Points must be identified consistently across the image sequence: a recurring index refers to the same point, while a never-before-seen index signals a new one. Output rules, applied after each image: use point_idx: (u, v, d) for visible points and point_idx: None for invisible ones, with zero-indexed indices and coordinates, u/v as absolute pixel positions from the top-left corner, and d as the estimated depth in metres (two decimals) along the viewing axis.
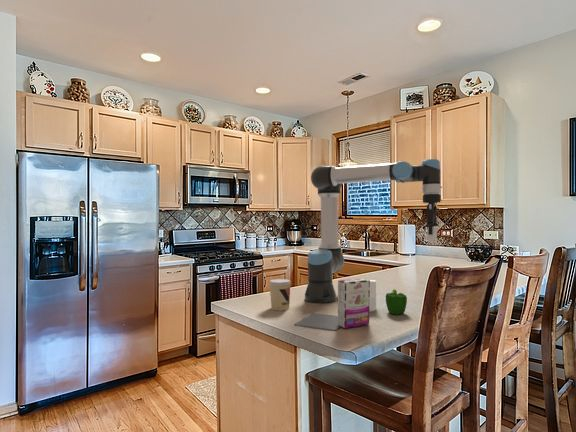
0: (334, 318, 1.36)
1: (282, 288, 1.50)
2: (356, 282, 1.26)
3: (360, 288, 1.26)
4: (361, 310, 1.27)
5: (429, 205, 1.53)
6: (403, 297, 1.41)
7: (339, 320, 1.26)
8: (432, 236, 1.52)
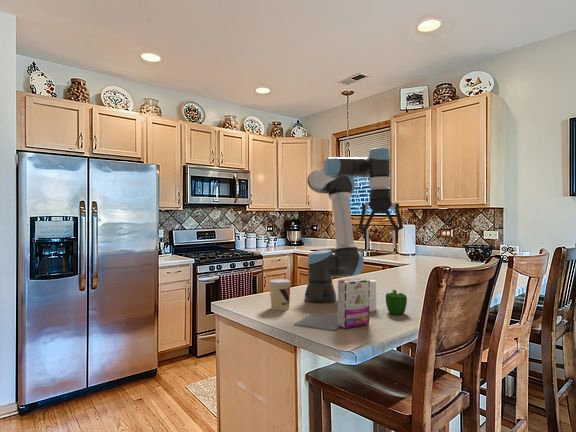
0: (334, 318, 1.36)
1: (282, 288, 1.50)
2: (356, 282, 1.26)
3: (360, 288, 1.26)
4: (361, 310, 1.27)
5: (398, 204, 1.33)
6: (403, 297, 1.41)
7: (339, 320, 1.26)
8: None
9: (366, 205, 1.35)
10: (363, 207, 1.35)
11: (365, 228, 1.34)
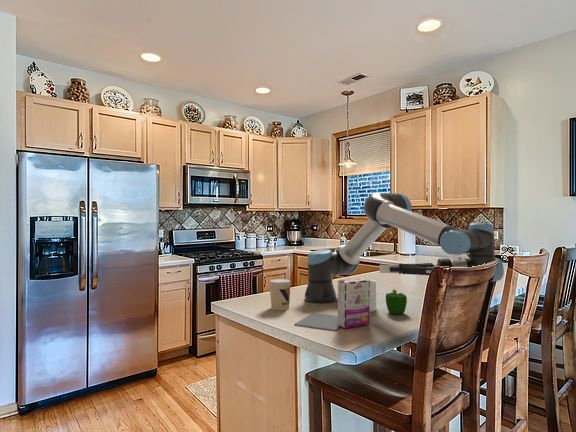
0: (334, 318, 1.36)
1: (282, 288, 1.50)
2: (356, 282, 1.26)
3: (360, 288, 1.26)
4: (361, 310, 1.27)
5: None
6: (403, 297, 1.41)
7: (339, 320, 1.26)
8: None
9: None
10: None
11: None
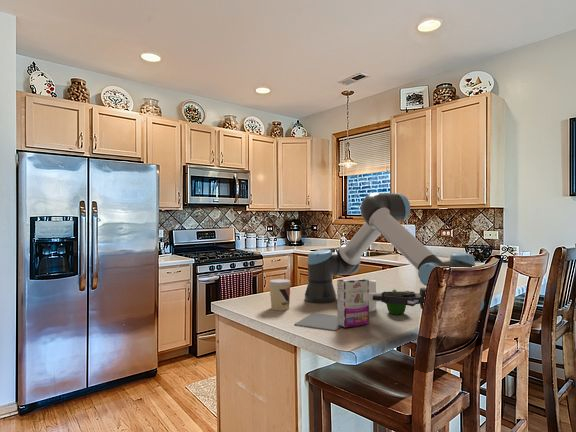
0: (334, 318, 1.36)
1: (282, 288, 1.50)
2: (355, 281, 1.27)
3: (359, 287, 1.27)
4: (360, 309, 1.27)
5: None
6: None
7: (339, 320, 1.27)
8: None
9: None
10: None
11: None
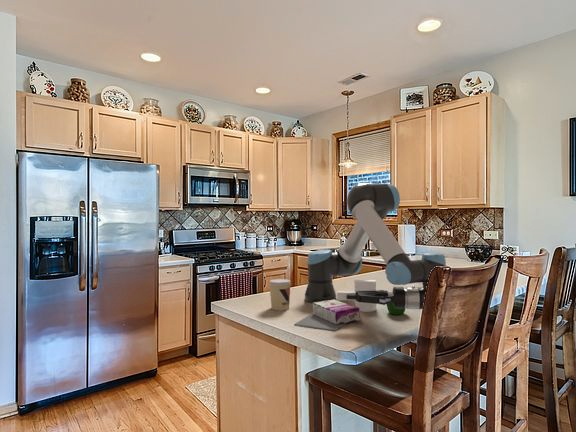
0: None
1: (282, 288, 1.50)
2: (322, 301, 1.44)
3: (329, 301, 1.43)
4: (342, 305, 1.36)
5: None
6: None
7: (332, 319, 1.29)
8: None
9: None
10: None
11: None
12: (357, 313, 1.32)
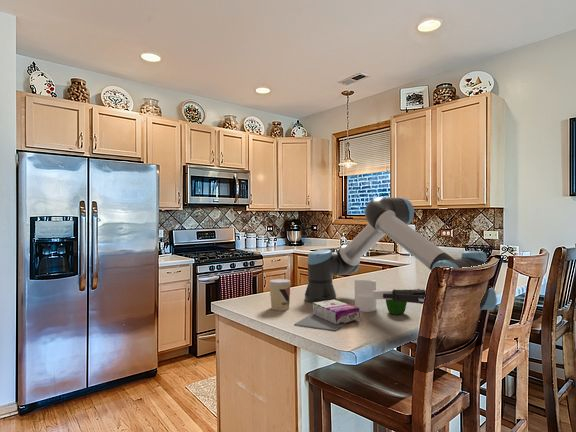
0: None
1: (282, 288, 1.50)
2: (322, 301, 1.44)
3: (329, 301, 1.43)
4: (342, 305, 1.36)
5: None
6: None
7: (332, 319, 1.29)
8: None
9: None
10: None
11: None
12: (357, 313, 1.32)
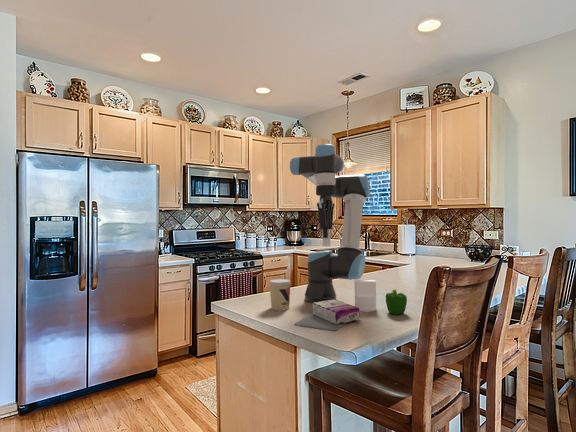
0: None
1: (282, 288, 1.50)
2: (322, 301, 1.44)
3: (329, 301, 1.43)
4: (342, 305, 1.36)
5: None
6: (403, 297, 1.41)
7: (332, 319, 1.29)
8: None
9: (322, 203, 1.32)
10: (323, 206, 1.31)
11: (328, 226, 1.34)
12: (357, 313, 1.32)
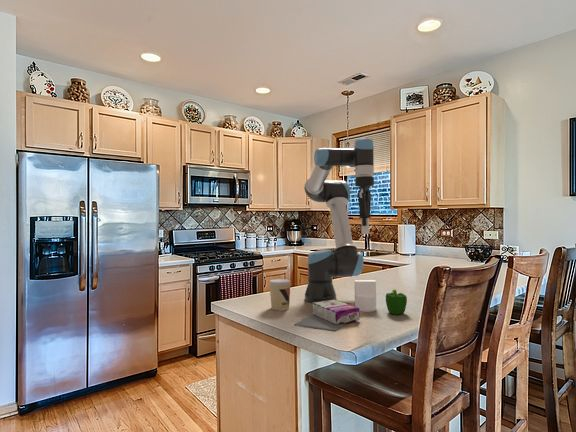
0: None
1: (282, 288, 1.50)
2: (322, 301, 1.44)
3: (329, 301, 1.43)
4: (342, 305, 1.36)
5: None
6: (403, 297, 1.41)
7: (332, 319, 1.29)
8: None
9: (362, 193, 1.41)
10: (364, 195, 1.40)
11: (367, 215, 1.44)
12: (357, 313, 1.32)
